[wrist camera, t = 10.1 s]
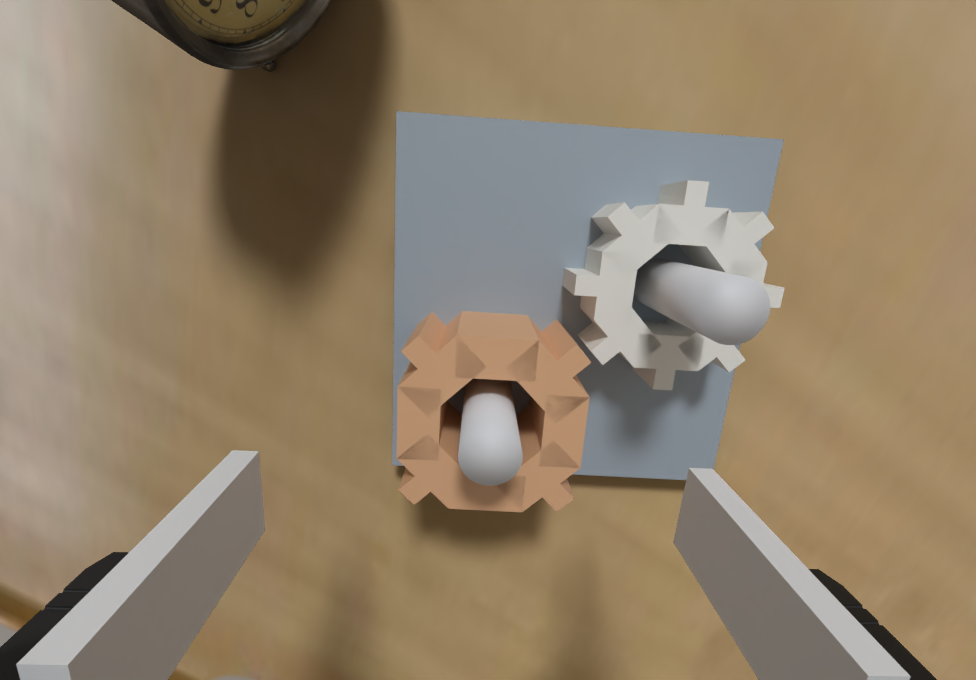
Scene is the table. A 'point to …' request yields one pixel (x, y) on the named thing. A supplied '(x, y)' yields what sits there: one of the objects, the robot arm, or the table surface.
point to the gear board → (589, 274)
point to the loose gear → (542, 425)
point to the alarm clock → (230, 27)
